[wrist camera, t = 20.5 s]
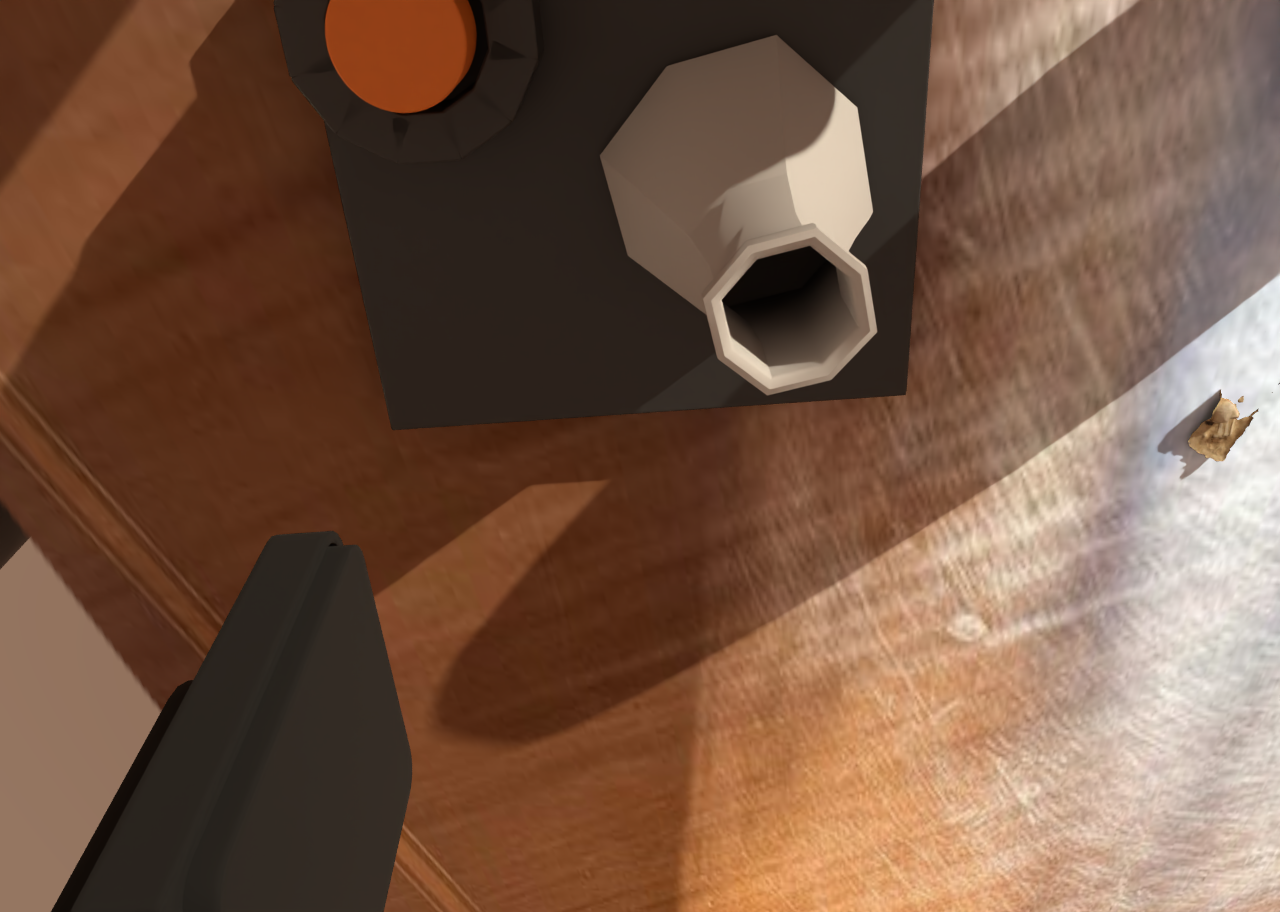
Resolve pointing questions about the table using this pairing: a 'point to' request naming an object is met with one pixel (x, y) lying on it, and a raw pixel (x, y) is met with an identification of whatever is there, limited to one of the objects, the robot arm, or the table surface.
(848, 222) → the flask
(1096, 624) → the table surface
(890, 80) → the scale
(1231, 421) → the fossil
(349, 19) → the button
